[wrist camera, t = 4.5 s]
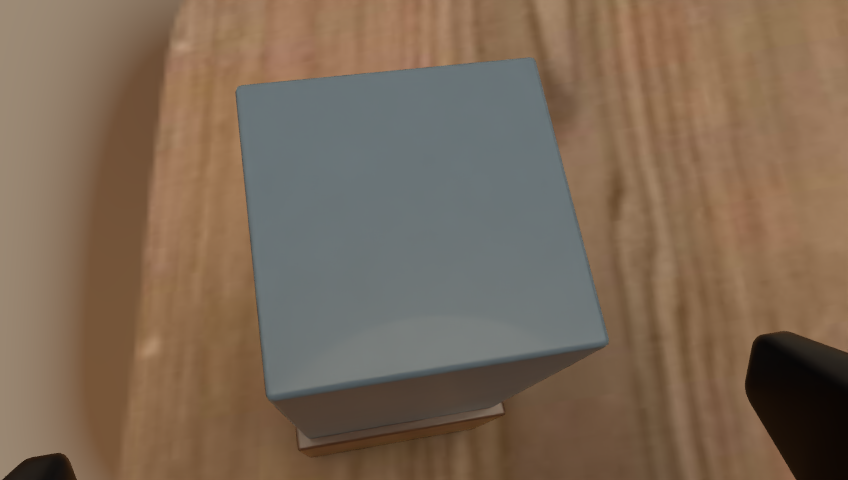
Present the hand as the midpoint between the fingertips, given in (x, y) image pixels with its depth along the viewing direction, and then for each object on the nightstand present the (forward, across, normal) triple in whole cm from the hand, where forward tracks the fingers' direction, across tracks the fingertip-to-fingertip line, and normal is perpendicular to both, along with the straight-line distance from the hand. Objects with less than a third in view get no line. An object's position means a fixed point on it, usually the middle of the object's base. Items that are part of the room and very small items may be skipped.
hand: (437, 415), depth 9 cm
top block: (+6, 0, +2) cm, 6 cm away
